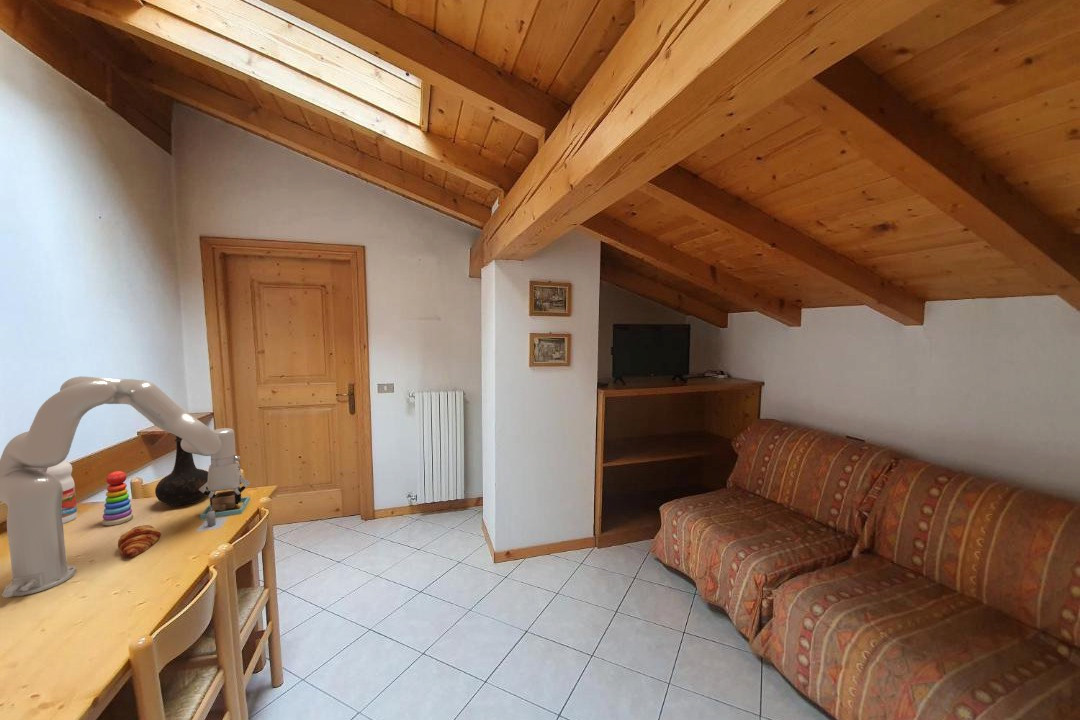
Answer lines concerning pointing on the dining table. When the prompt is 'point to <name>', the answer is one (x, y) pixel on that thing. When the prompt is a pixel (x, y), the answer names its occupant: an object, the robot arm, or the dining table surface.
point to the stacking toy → (117, 500)
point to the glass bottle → (182, 480)
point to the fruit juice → (65, 489)
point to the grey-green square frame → (226, 513)
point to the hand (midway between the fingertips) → (226, 504)
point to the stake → (212, 522)
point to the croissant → (138, 540)
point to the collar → (224, 500)
